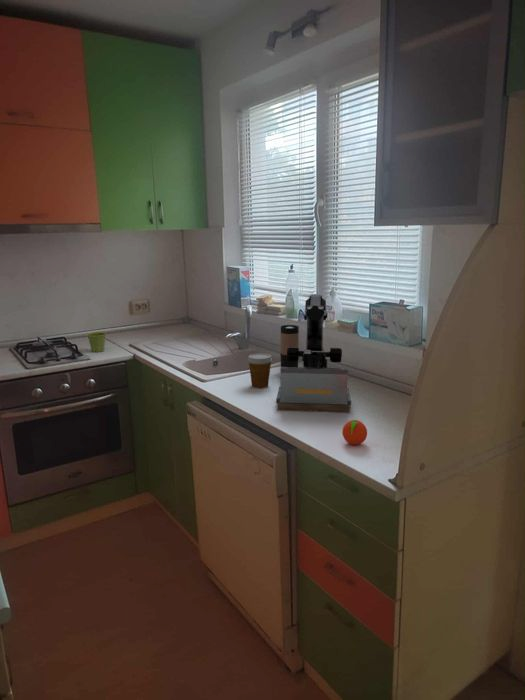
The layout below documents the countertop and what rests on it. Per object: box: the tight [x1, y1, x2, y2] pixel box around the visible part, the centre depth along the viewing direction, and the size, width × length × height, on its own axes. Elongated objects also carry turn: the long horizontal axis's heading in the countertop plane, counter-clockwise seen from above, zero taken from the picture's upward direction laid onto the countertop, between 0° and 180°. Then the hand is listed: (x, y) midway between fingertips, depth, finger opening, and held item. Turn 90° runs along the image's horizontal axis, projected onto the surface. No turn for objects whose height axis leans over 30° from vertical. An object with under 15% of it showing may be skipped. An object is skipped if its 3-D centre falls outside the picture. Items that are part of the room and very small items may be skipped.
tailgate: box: [279, 366, 349, 404], centre depth 172 cm, size 2×22×12 cm, turn 84°
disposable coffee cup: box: [247, 353, 273, 389], centre depth 200 cm, size 10×10×12 cm
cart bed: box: [275, 386, 352, 413], centre depth 179 cm, size 14×25×4 cm, turn 84°
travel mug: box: [279, 324, 300, 368], centre depth 217 cm, size 8×8×20 cm
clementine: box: [341, 419, 368, 446], centre depth 145 cm, size 8×7×7 cm
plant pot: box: [86, 331, 107, 353], centre depth 260 cm, size 9×9×9 cm
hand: (313, 375), depth 175 cm, fingers closed
